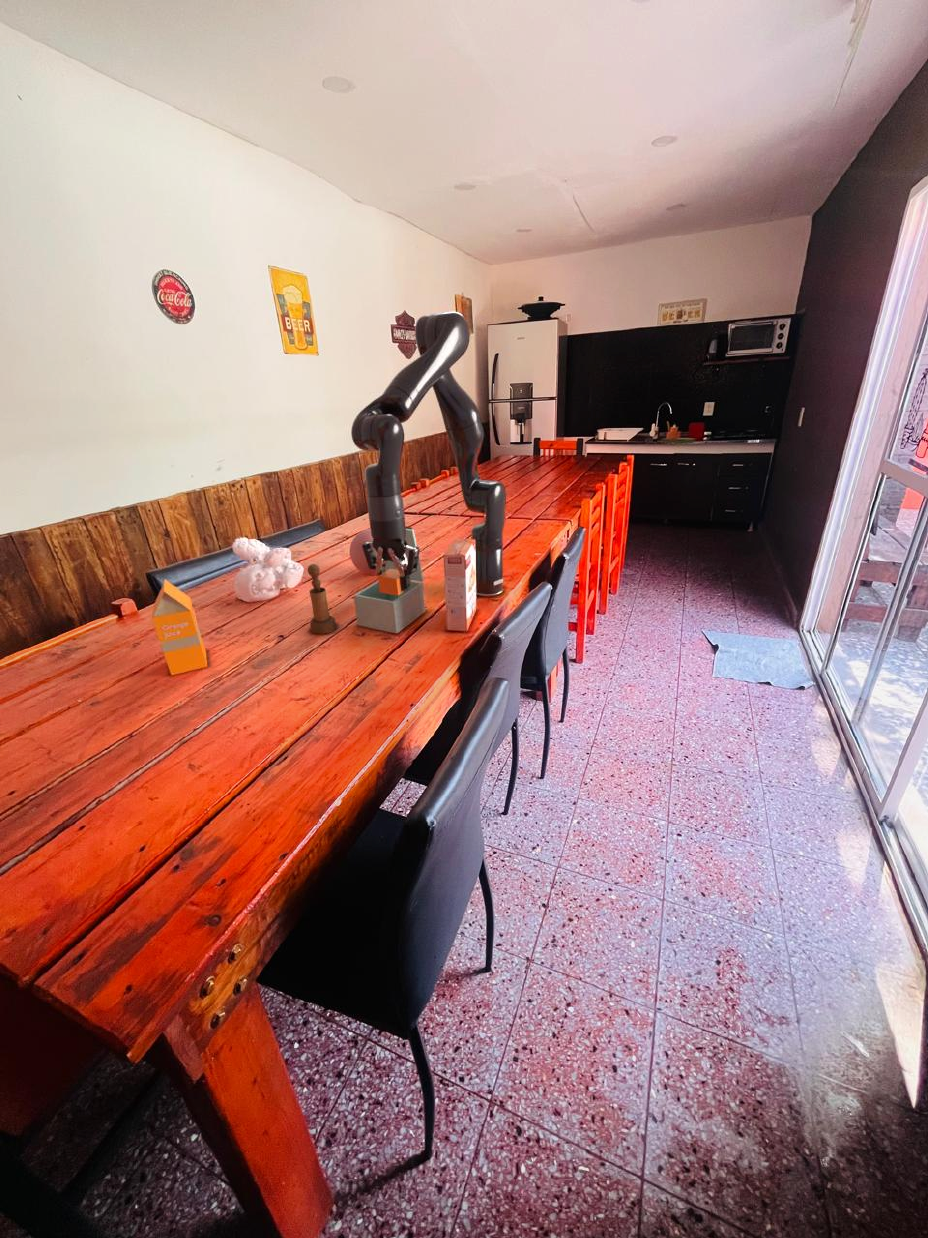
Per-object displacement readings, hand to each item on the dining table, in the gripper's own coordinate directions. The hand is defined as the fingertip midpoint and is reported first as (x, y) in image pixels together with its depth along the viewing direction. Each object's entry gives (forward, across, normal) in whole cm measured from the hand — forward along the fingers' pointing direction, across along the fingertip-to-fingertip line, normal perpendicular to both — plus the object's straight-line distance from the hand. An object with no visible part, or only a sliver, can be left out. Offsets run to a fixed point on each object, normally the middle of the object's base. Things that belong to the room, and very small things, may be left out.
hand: (394, 588), depth 112 cm
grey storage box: (+16, +12, -14) cm, 25 cm away
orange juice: (+16, +44, +25) cm, 53 cm away
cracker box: (+17, -6, -21) cm, 27 cm away
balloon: (+17, +38, -44) cm, 61 cm away
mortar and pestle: (+17, +26, -2) cm, 31 cm away
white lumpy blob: (+17, +59, -16) cm, 63 cm away
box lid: (0, +12, -20) cm, 23 cm away
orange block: (0, 0, 0) cm, 0 cm away
